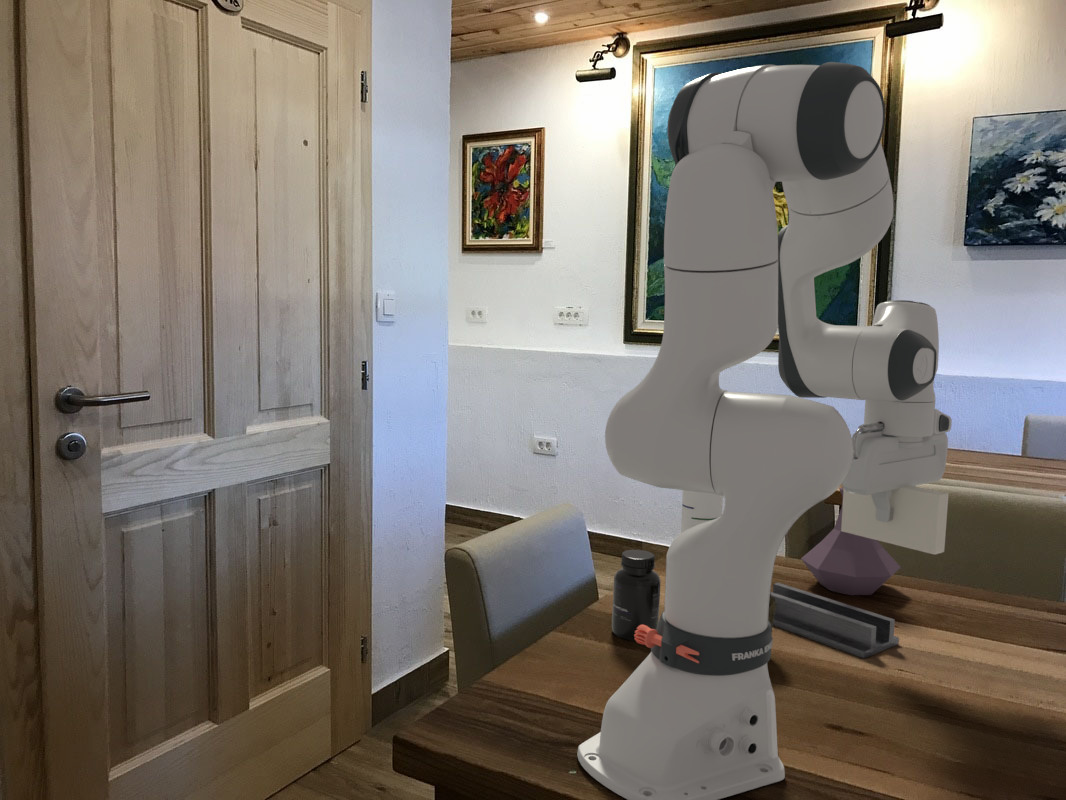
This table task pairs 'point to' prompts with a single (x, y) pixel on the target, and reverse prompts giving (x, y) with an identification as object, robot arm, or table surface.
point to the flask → (850, 562)
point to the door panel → (900, 518)
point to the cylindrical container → (699, 508)
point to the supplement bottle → (635, 594)
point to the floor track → (832, 622)
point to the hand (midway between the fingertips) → (891, 519)
